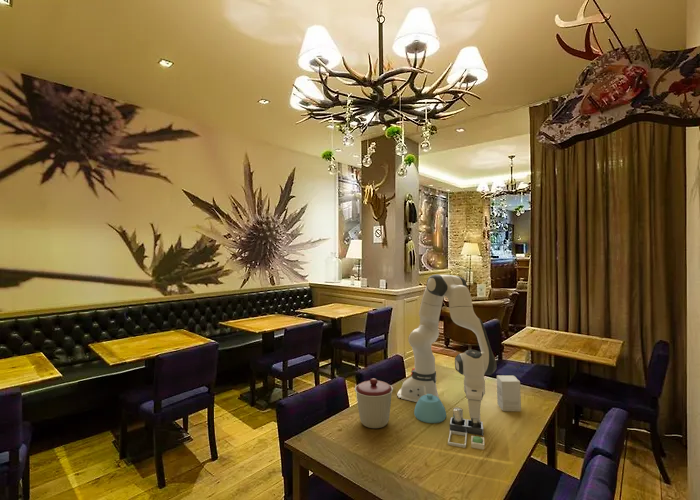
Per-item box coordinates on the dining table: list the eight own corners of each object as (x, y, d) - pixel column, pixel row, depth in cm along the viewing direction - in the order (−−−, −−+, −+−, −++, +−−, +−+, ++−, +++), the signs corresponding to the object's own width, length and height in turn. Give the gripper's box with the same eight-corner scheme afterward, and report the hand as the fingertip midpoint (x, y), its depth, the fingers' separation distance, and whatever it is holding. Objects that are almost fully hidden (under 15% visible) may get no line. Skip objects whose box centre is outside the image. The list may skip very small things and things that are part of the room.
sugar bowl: (447, 427, 162) (446, 402, 161) (414, 424, 165) (413, 400, 164) (445, 412, 176) (444, 389, 176) (414, 410, 179) (414, 387, 179)
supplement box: (514, 403, 184) (514, 375, 184) (521, 411, 175) (520, 381, 175) (496, 403, 185) (496, 374, 185) (502, 411, 176) (501, 381, 176)
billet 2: (470, 427, 155) (470, 408, 155) (471, 422, 159) (470, 404, 159) (480, 428, 154) (480, 409, 154) (480, 424, 158) (480, 405, 158)
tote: (447, 447, 145) (447, 442, 145) (450, 435, 154) (450, 430, 154) (465, 450, 143) (465, 445, 143) (467, 438, 152) (466, 433, 152)
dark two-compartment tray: (449, 432, 157) (449, 424, 157) (451, 424, 164) (450, 416, 164) (483, 438, 152) (483, 429, 151) (483, 429, 159) (483, 421, 159)
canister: (400, 419, 169) (399, 376, 169) (382, 437, 154) (381, 389, 154) (367, 411, 179) (366, 369, 179) (347, 426, 164) (346, 381, 164)
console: (471, 450, 143) (470, 442, 143) (471, 442, 148) (471, 435, 148) (484, 452, 141) (484, 445, 141) (484, 444, 147) (484, 437, 147)
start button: (473, 446, 144) (473, 439, 144) (473, 441, 147) (473, 435, 147) (482, 447, 143) (482, 441, 143) (482, 443, 146) (482, 437, 146)
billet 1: (453, 428, 158) (452, 410, 158) (454, 424, 162) (453, 406, 162) (462, 430, 156) (462, 411, 156) (463, 425, 160) (462, 407, 160)
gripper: (467, 379, 167) (468, 408, 167) (466, 396, 148) (466, 429, 148) (482, 380, 165) (482, 410, 165) (482, 398, 146) (483, 431, 146)
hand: (475, 419), depth 156 cm, fingers closed on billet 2, 4 cm apart
